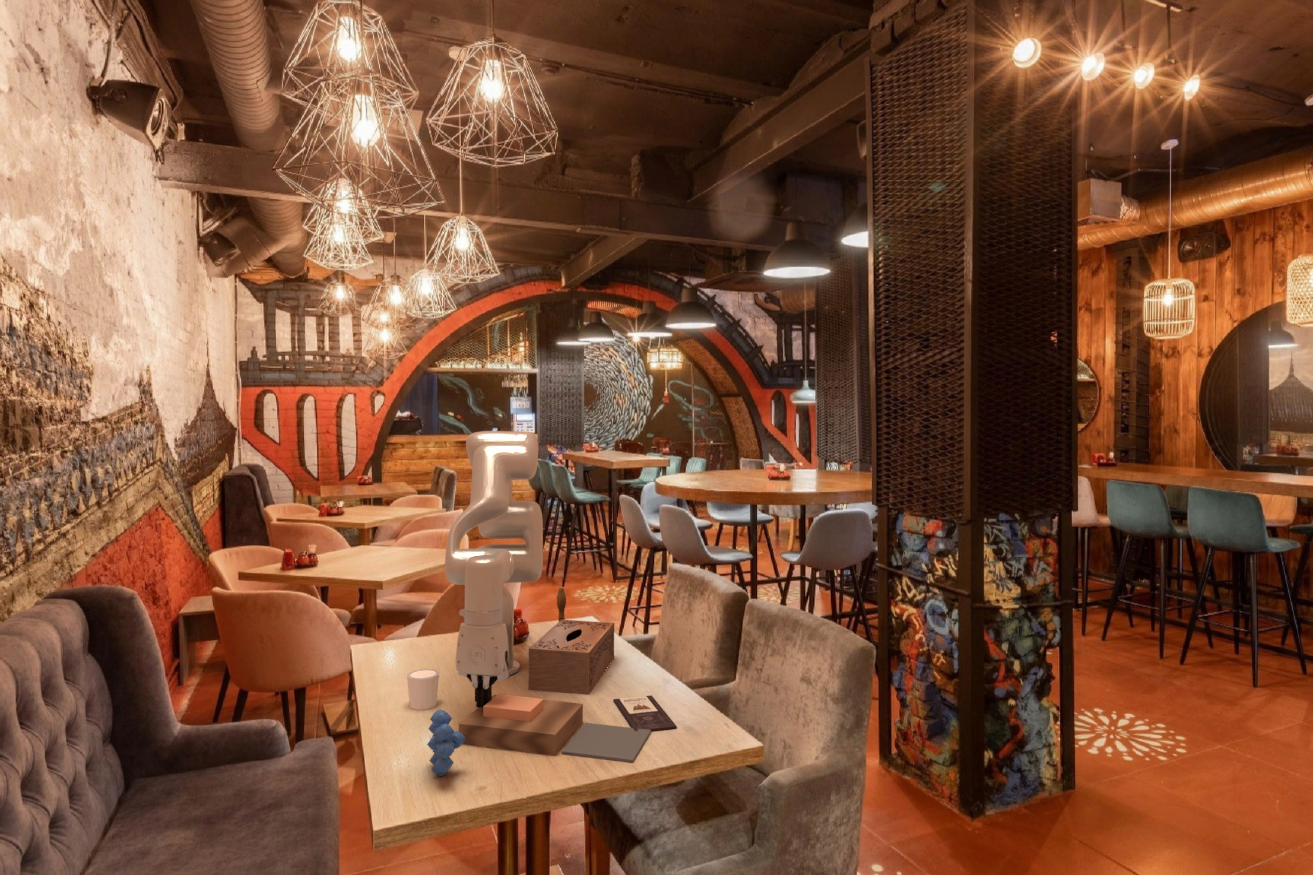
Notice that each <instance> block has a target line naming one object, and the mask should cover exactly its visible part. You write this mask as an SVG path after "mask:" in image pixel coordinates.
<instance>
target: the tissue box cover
mask: <svg viewBox="0 0 1313 875" xmlns="http://www.w3.org/2000/svg"><path fill="white" fill-rule="evenodd" d="M612 660H613V661H614V660H615V622H606V621H590V620H575V619H573V620H572V619H571V620H570V619H565V620H560V621H559V620H558V622H557V623H556V624H555V625H553V627H552V628H550V629H549V630H548V631H547V632H546V633H544V635H542V636H541V637H540V638H539V639H538V640H537V641H536V642H535V643H533V644H532V645H531V646H530V647H529V648H528V688H527V689H528V691H534V692H535V691H537V692H549V693H562V694H572V695H573V693H574V694H575V695H589V694H590V693H591V692H592V691H593V689H594V687H595V686H596V685H597V684H598V682H599V681H600V680H601V678H602V677H603V676H604V674H605V673H606V671H607V670H608V668H609V667H610V666H609V665H611V664H612V663H613V662H612ZM611 662H612V663H611ZM610 663H611V664H610ZM607 667H608V668H607ZM606 669H607V670H606ZM605 670H606V671H605ZM604 672H605V673H604ZM603 673H604V674H603ZM601 676H602V677H601ZM600 677H601V678H600ZM598 680H599V681H598ZM596 683H597V684H596Z"/></svg>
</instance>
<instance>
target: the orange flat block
mask: <svg viewBox="0 0 1313 875" xmlns="http://www.w3.org/2000/svg"><path fill="white" fill-rule="evenodd" d="M496 695H497V696H496V697H494V698H493V699H492V700H491V701H489V702H488V703H487V704H486V705H485V706H483V716H485V717H493V718H502V719H511V720H520V721H529V722H530V721H531V720H532V719H533V718H534V717H535V716H536V715H537V714H538V713H539V712H540V711H541V710H542V709H543V700H544V698H539V697H538V698H537V697H530V696H521V695H519V696H518V695H511V694H501V693H500V694H499V693H498V694H496Z"/></svg>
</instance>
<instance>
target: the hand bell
mask: <svg viewBox="0 0 1313 875" xmlns="http://www.w3.org/2000/svg"><path fill="white" fill-rule="evenodd" d="M556 605H557V608H558V610H557V611H558V618H557V619H558V622H559V621H560V620H566V619H565V618H566V617H565V609H566V605H567V595H566V593H565V589H564V588H563V587H560V588H558V591H557V595H556Z"/></svg>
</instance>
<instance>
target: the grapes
mask: <svg viewBox="0 0 1313 875" xmlns="http://www.w3.org/2000/svg"><path fill="white" fill-rule="evenodd" d="M451 720H453V717H452V716H451V715H450V714H449V713H448V712H446V711H444V710H443V709H437V710H436V711H435V712H434V713H433V714H432V716H431V717H430V721H431V722H432V723H431V724H430V726H429V727H428V730H429V731H430V732H431V734H432V737H431V738H430V740H429V741H428V742H427V746H428V747H429V748H430V750H432V753H433V754H432V756H431V758H429V762H430V763H431V764H432V768H431V770H432V771H433V772H434V773H435V774H436V775H437V776H439V777H443V776H445V775H446V774H447V773H448V771H449V770H450V769H451V768H452V766H453V764H454V761H453V759H452V758H451V756H452V755H453V754H454V752H455V750H456V749H459V748H460V747H461V746H462V745H464V744H463V742H464V741H465V739H466V738H465V737H464V736H463V734H462V733H460V732H459V730H456V731H455V729H454V728H453V727H451V725H449V724H450V722H451Z"/></svg>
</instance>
